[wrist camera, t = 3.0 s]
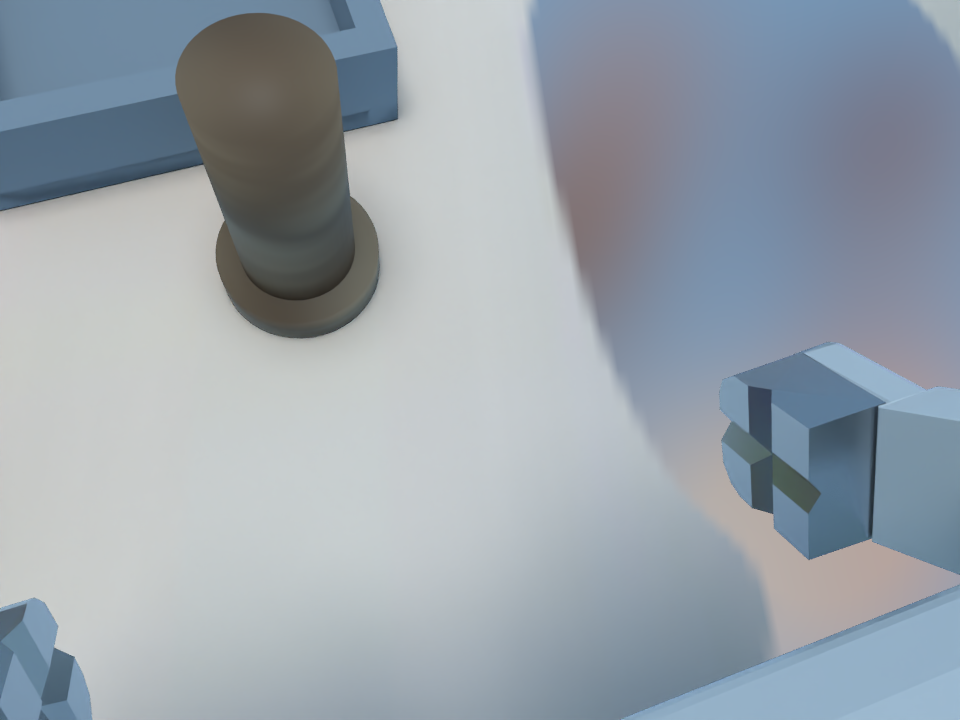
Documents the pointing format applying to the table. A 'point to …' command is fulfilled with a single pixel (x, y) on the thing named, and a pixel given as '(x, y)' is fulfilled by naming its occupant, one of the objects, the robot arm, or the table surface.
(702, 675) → the table surface
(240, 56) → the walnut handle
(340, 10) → the tray
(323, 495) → the table surface
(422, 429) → the table surface
